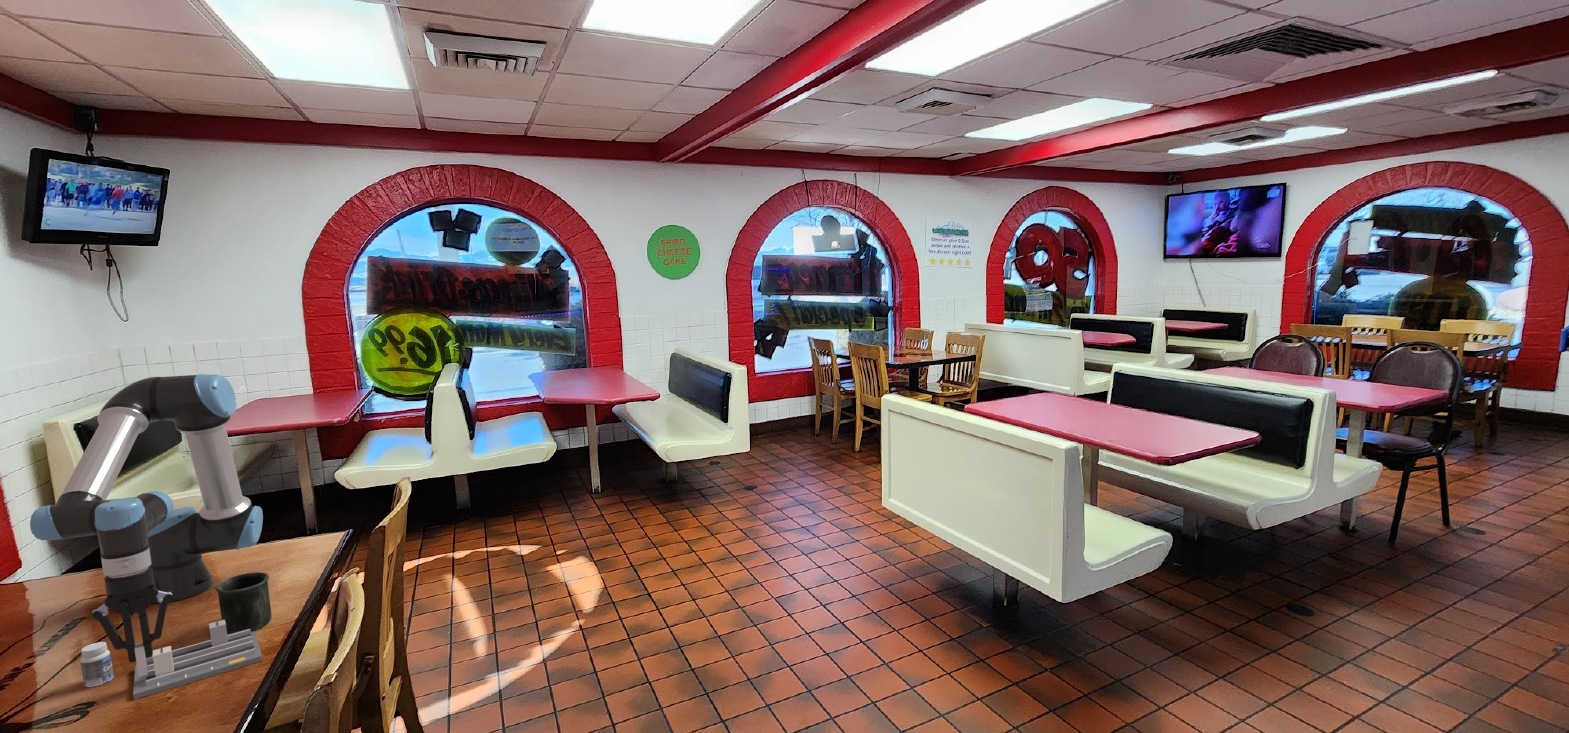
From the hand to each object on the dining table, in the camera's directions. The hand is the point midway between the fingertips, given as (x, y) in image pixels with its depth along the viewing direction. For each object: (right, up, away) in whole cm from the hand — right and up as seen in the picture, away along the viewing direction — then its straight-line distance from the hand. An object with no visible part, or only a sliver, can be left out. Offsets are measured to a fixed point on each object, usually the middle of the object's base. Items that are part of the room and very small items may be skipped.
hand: (143, 672), depth 151 cm
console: (+5, -2, +8) cm, 10 cm away
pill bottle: (-12, -3, +2) cm, 13 cm away
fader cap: (+3, -1, +2) cm, 4 cm away
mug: (+1, 0, +28) cm, 28 cm away
